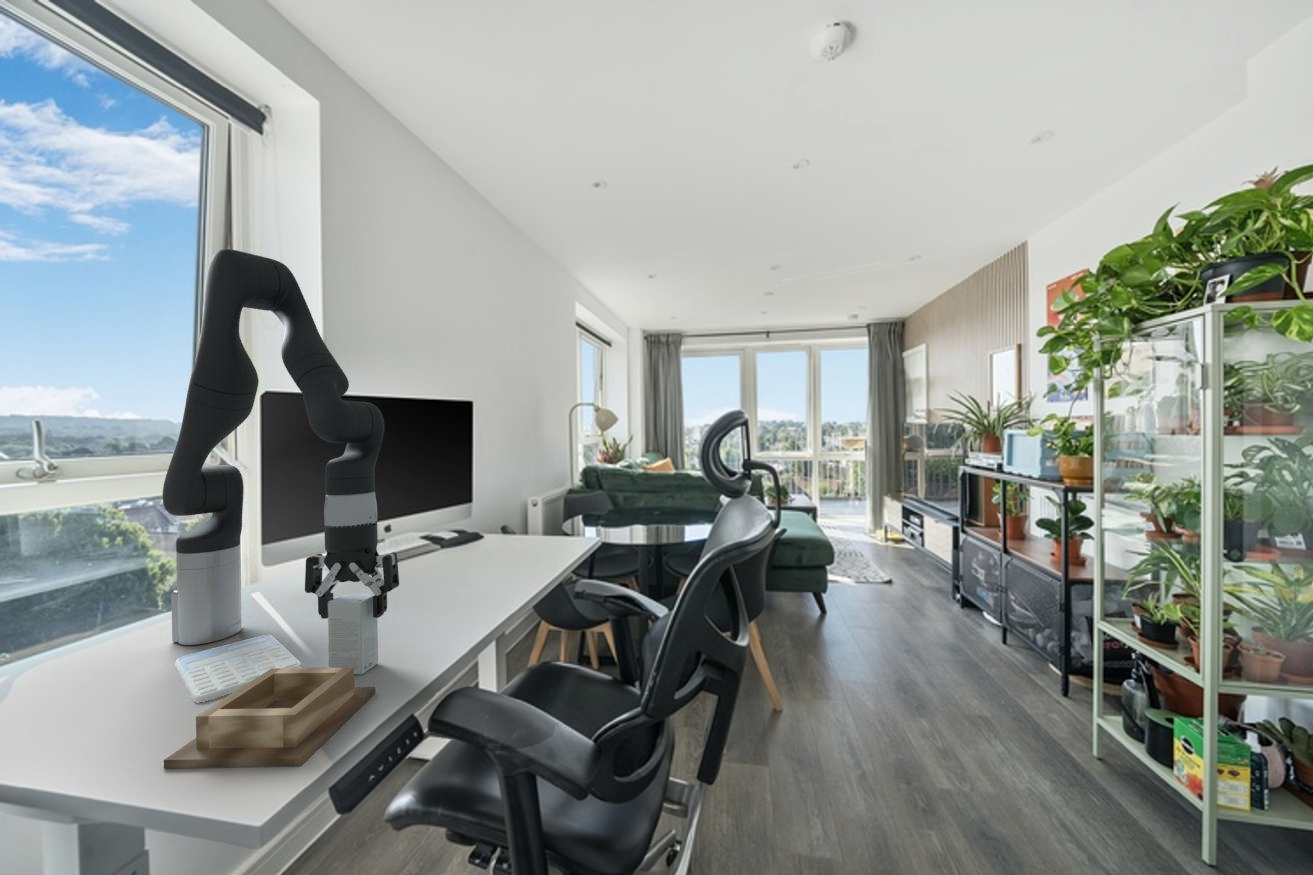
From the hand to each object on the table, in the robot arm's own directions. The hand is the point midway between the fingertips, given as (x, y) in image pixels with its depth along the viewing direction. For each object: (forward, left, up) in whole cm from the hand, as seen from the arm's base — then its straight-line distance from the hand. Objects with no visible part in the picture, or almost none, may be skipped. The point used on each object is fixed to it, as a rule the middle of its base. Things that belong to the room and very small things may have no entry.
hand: (353, 616), depth 81 cm
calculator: (-20, +1, -10) cm, 22 cm away
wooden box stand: (0, -16, -9) cm, 18 cm away
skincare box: (0, 0, -9) cm, 9 cm away
